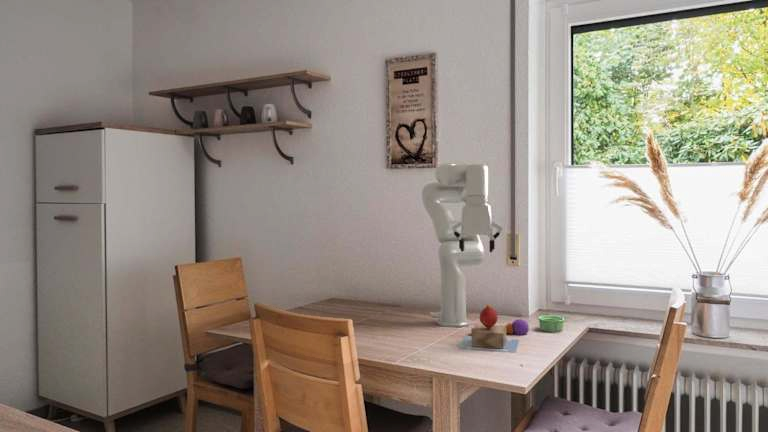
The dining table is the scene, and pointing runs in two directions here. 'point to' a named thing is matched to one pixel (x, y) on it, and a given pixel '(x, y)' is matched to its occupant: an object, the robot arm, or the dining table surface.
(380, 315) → the dining table surface
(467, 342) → the blueprint mat
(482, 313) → the onion
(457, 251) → the robot arm
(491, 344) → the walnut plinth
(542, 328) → the ramekin
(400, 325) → the dining table surface
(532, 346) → the dining table surface
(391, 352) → the dining table surface
